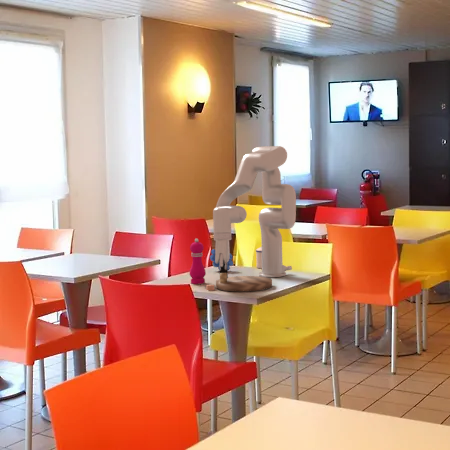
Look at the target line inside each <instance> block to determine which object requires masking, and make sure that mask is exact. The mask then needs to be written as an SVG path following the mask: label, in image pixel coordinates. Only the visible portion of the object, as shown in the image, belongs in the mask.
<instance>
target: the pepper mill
mask: <svg viewBox="0 0 450 450" xmlns="http://www.w3.org/2000/svg"><path fill="white" fill-rule="evenodd" d="M189 251H190V252H191V258H192V263H191V267H190V269H189V277H191V279H190V284H193V285H201V284H205V283H206V279H205V276H206V275H207V274H206V268H205V267H204V265H203V261H202V259H203V251H204V244H203V243H202V242H199V239H198V238H196V237H195V239H194V242H192V243H191V244H190V246H189Z"/></svg>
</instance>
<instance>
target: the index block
mask: <svg viewBox="0 0 450 450" xmlns="http://www.w3.org/2000/svg"><path fill="white" fill-rule="evenodd" d="M205 288H206V289H205V290H206V291H207V290H209V291H215V285H214V284H206V285H205Z"/></svg>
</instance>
